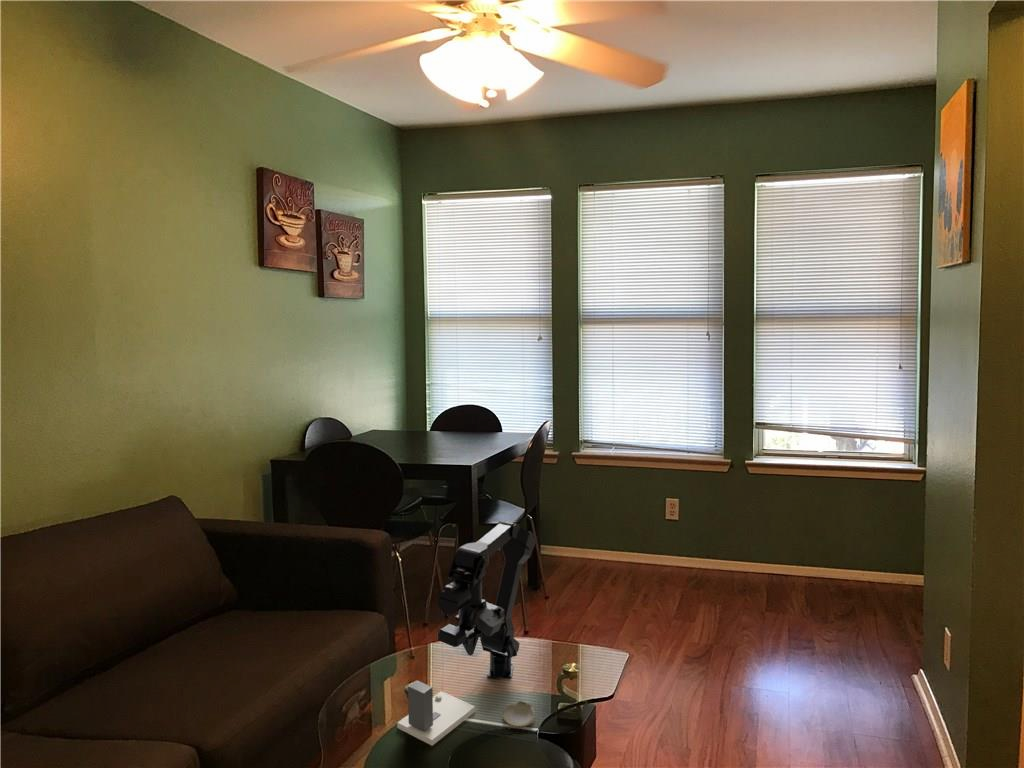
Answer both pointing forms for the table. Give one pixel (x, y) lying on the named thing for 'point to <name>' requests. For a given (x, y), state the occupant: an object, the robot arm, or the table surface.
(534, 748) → the table surface
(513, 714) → the seashell
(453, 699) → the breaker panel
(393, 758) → the table surface
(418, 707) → the handle
